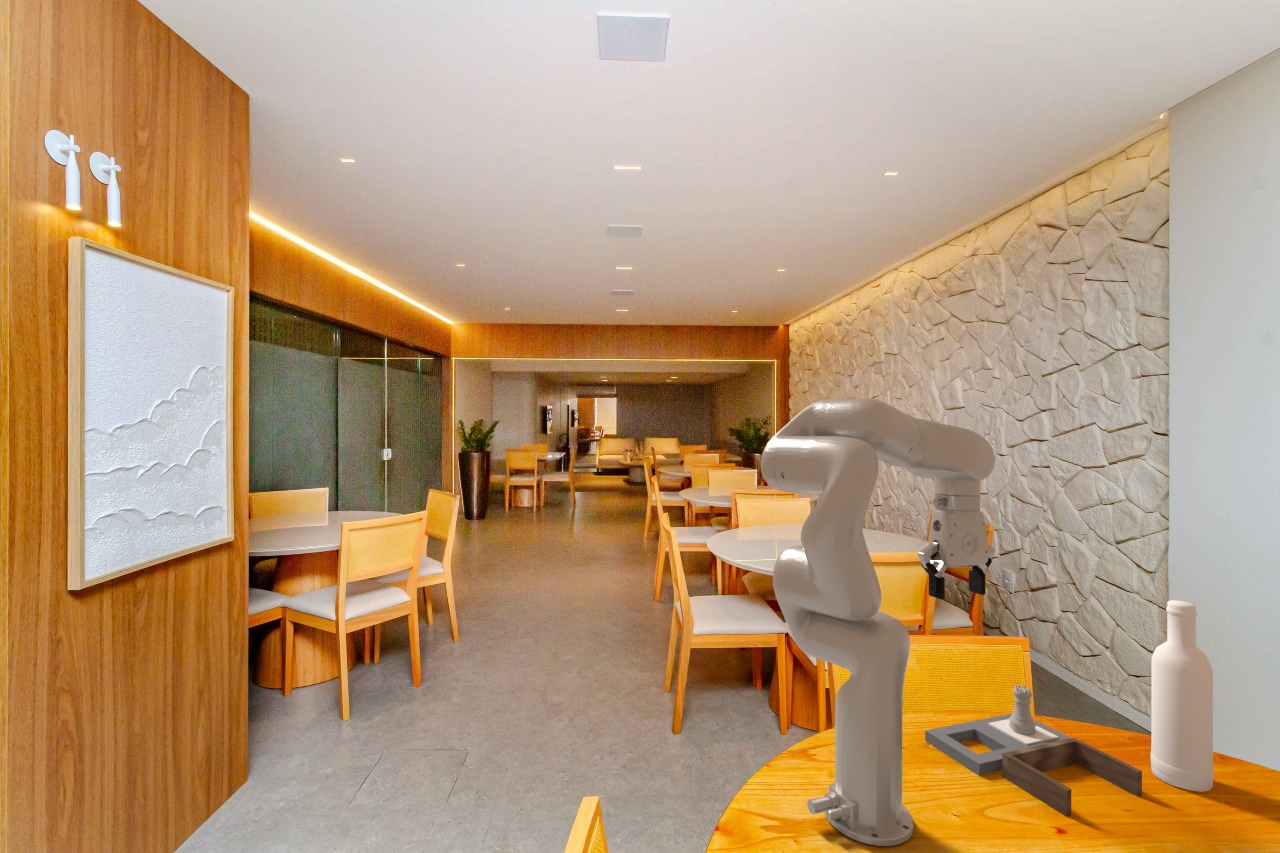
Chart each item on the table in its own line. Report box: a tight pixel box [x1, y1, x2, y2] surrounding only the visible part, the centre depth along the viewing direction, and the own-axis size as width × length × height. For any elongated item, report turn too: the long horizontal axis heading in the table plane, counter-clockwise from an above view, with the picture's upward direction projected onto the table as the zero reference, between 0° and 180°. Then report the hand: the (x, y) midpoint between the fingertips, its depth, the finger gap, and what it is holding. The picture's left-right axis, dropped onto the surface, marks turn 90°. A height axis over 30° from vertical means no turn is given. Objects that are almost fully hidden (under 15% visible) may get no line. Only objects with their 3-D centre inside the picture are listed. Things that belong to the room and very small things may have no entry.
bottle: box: [1150, 599, 1215, 792], centre depth 101 cm, size 8×8×30 cm
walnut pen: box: [1001, 737, 1143, 817], centre depth 99 cm, size 17×11×4 cm, turn 109°
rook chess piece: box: [1009, 684, 1036, 735], centre depth 113 cm, size 4×4×8 cm
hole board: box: [924, 713, 1072, 776], centre depth 112 cm, size 24×12×2 cm, turn 109°
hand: (957, 595), depth 112 cm, fingers open, 9 cm apart
